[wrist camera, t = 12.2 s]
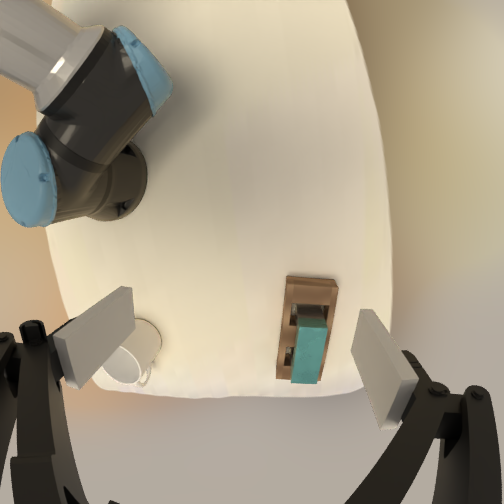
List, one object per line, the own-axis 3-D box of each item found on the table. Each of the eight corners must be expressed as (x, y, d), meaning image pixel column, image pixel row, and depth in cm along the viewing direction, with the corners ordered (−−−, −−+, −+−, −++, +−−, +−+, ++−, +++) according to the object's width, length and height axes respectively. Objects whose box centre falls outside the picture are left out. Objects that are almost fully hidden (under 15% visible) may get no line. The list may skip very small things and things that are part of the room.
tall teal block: (311, 350, 50) (316, 383, 41) (289, 349, 51) (290, 383, 41) (319, 301, 48) (327, 328, 38) (295, 299, 48) (299, 327, 39)
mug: (138, 368, 55) (117, 398, 45) (118, 319, 53) (91, 344, 42) (173, 367, 54) (155, 400, 44) (154, 315, 52) (130, 342, 41)
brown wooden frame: (318, 368, 51) (320, 380, 47) (276, 366, 52) (275, 378, 48) (334, 279, 47) (338, 287, 43) (286, 276, 48) (287, 284, 44)
